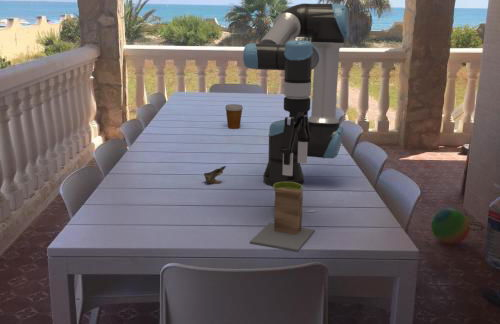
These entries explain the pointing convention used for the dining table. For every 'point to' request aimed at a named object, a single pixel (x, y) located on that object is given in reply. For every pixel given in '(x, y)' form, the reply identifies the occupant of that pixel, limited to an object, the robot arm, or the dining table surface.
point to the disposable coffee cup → (233, 115)
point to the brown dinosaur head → (213, 175)
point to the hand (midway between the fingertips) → (295, 168)
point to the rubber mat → (282, 238)
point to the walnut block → (288, 211)
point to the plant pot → (287, 185)
